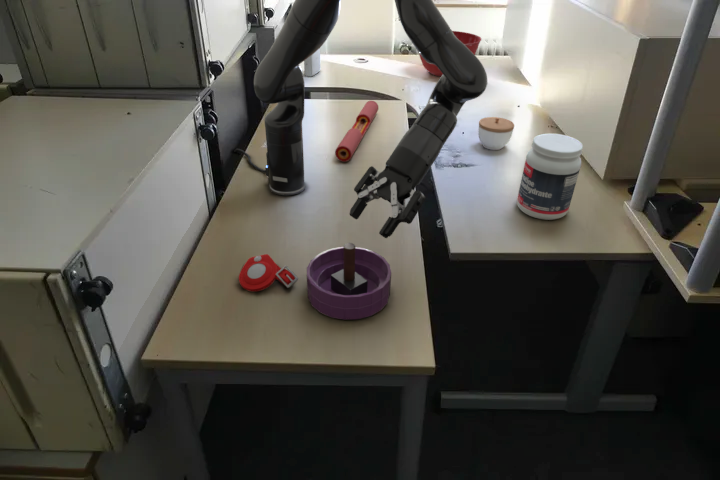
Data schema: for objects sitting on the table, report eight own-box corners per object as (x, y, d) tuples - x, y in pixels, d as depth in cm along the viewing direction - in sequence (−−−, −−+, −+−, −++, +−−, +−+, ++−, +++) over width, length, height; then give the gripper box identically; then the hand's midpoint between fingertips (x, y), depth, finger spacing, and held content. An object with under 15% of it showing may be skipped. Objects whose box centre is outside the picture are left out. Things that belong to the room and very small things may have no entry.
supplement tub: (506, 208, 135) (519, 141, 125) (532, 192, 143) (546, 127, 133) (552, 228, 128) (570, 158, 118) (577, 210, 135) (596, 142, 125)
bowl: (291, 290, 106) (290, 266, 102) (353, 260, 115) (353, 237, 111) (342, 334, 96) (343, 309, 92) (406, 297, 105) (408, 273, 101)
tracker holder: (235, 291, 103) (237, 253, 110) (243, 304, 107) (244, 266, 113) (295, 278, 103) (293, 240, 109) (301, 291, 106) (299, 254, 113)
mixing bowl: (401, 67, 242) (403, 32, 234) (453, 61, 253) (457, 27, 244) (433, 85, 221) (437, 46, 213) (489, 77, 231) (495, 41, 223)
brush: (330, 288, 106) (330, 243, 99) (347, 280, 108) (348, 235, 102) (350, 304, 102) (350, 257, 96) (367, 294, 104) (368, 248, 98)
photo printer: (312, 77, 227) (311, 47, 220) (303, 76, 228) (302, 46, 221) (321, 71, 235) (321, 42, 228) (313, 69, 236) (312, 41, 229)
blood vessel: (364, 113, 191) (365, 99, 189) (378, 114, 190) (378, 101, 188) (335, 160, 157) (334, 145, 154) (351, 162, 156) (351, 147, 153)
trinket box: (510, 142, 172) (515, 114, 167) (509, 155, 163) (514, 126, 158) (477, 137, 174) (481, 110, 169) (474, 150, 165) (478, 121, 160)
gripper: (379, 133, 101) (332, 204, 101) (434, 158, 93) (383, 235, 93) (397, 152, 107) (353, 218, 107) (451, 177, 98) (402, 249, 98)
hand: (367, 226), depth 100 cm, fingers open, 8 cm apart
